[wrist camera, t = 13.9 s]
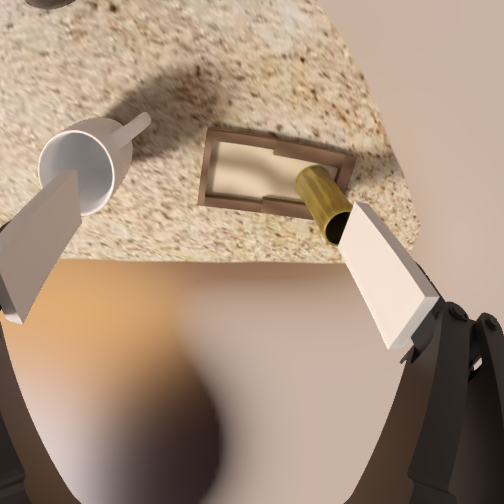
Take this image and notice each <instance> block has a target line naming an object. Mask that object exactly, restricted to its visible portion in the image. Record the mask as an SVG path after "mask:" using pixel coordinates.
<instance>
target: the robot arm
mask: <svg viewBox="0 0 504 504" xmlns="http://www.w3.org/2000/svg"><path fill="white" fill-rule="evenodd" d="M25 1H26V2H27V3H28V4H29V5H31V6H33V7H36V8H41V9H56V8H60V7H63V6H65V5H68V4H70V3H72V2H73V1H75V0H25ZM81 223H82V220H81V212H80V203H79V192H78V180H77V171H74V170H63V171H62V172H61V173H60V174H58V175H57V176H56V177H55V178H54V179H53V180H52V181H51V182H49V183H48V184H47V185H46V186H45V187H44V188H43V189H42V190H41V191H40V192H39V193H38V194H37V195H36V196H35V197H34V198H33V199H32V200H31V201H30V202H29V203H28V204H27V205H26V206H25V207H24V208H23V209H22V210H21V211H20V212H19V213H18V214H17V215H16V216H15V217H14V218H13V219H12V220H10V221H9V222H7V223H6V224H4V225H3V226H2V227H1V228H0V310H1V309H2V311H3V312H4V315H5V317H6V319H7V320H8V321H12V322H15V323H19V324H23V323H24V321H25V319H26V317H27V315H28V313H29V311H30V309H31V307H32V305H33V303H34V301H35V299H36V297H37V295H38V293H39V292H40V290H41V288H42V286H43V284H44V282H45V280H46V279H47V277H48V275H49V274H50V272H51V270H52V268H53V267H54V265H55V264H56V262H57V260H58V259H59V257H60V255H61V254H62V252H63V250H64V249H65V247H66V246H67V244H68V243H69V241H70V240H71V238H72V236H73V235H74V233H75V232H76V230H77V229H78V227H79V226H80V225H81ZM337 248H338V250H339V251H340V253H341V255H342V257H343V259H344V261H345V263H346V265H347V266H348V268H349V270H350V272H351V274H352V276H353V278H354V280H355V282H356V284H357V286H358V288H359V290H360V292H361V294H362V296H363V298H364V300H365V302H366V304H367V306H368V308H369V310H370V312H371V314H372V316H373V318H374V321H375V323H376V325H377V327H378V329H379V331H380V334H381V335H382V338H383V340H384V342H385V344H386V347H387V349H399V348H403V347H404V346H405V344H406V343H407V342H408V340H409V339H410V338H411V339H412V341H413V343H414V345H413V346H412V348H411V349H410V350H409V351H408V352H407V353H406V355H405V356H404V357H403V358H402V360H401V361H400V363H401V364H402V363H403V362H404V361H405V360H407V361H406V364H405V368H404V371H403V374H402V377H401V381H400V384H399V387H398V390H397V393H396V396H395V399H394V401H393V404H392V407H391V410H390V412H389V415H388V418H387V420H386V423H385V426H384V428H383V430H382V433H381V435H380V438H379V440H378V442H377V445H376V447H375V449H374V452H373V454H372V456H371V458H370V460H369V462H368V465H367V467H366V468H365V471H364V473H363V475H362V477H361V479H360V480H359V482H358V484H357V486H356V488H355V490H354V492H353V494H352V495H351V497H350V498H349V499H348V500H347V501H346V502H345V503H344V504H504V334H503V331H502V328H501V326H500V324H499V323H498V321H497V319H496V318H495V317H494V316H492V315H490V314H488V313H482V314H481V315H480V316H479V318H478V319H477V321H474V320H471V319H469V317H468V315H467V314H466V312H465V311H464V310H463V309H462V308H461V307H460V306H459V305H457V304H455V303H453V302H445V300H444V299H443V298H442V296H441V295H440V293H439V292H438V290H437V289H436V288H435V286H434V285H433V283H432V282H430V279H429V278H428V276H427V275H425V272H424V271H423V269H422V268H421V267H420V266H419V265H418V264H417V263H416V262H415V261H414V260H413V259H412V258H411V256H410V255H409V253H408V252H407V251H406V250H405V248H404V247H403V246H402V244H401V243H400V242H399V241H398V239H397V238H396V237H395V236H394V234H393V233H392V232H391V231H390V229H389V228H388V227H387V226H386V225H385V223H384V222H383V221H382V220H381V219H380V217H379V216H378V215H377V214H376V213H375V211H374V210H373V209H372V208H371V207H370V206H369V204H366V203H361V202H356V201H355V203H354V205H353V208H352V211H351V214H350V216H349V219H348V222H347V224H346V227H345V229H344V232H343V235H342V237H341V240H340V242H339V245H338V247H337ZM480 358H482V364H481V365H480V366H479V367H478V368H477V369H476V370H475V371H474V367H473V365H474V364H475V363H476V362H477V361H478V360H479V359H480ZM0 504H81V503H80V502H79V501H78V500H77V499H76V498H75V497H74V496H73V495H72V493H71V492H70V490H69V489H68V487H67V486H66V484H65V482H64V481H63V479H62V477H61V476H60V474H59V472H58V471H57V469H56V467H55V465H54V463H53V462H52V460H51V458H50V456H49V454H48V452H47V450H46V448H45V447H44V445H43V443H42V441H41V438H40V436H39V434H38V432H37V430H36V428H35V426H34V423H33V421H32V419H31V417H30V414H29V412H28V409H27V407H26V404H25V402H24V399H23V397H22V394H21V391H20V388H19V385H18V383H17V380H16V377H15V374H14V371H13V367H12V364H11V361H10V357H9V354H8V350H7V346H6V343H5V339H4V335H3V330H2V326H1V323H0Z"/></svg>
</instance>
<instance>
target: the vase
mask: <svg viewBox="0 0 504 504" xmlns="http://www.w3.org/2000/svg"><path fill="white" fill-rule="evenodd" d="M295 189H296V192H297V194H298V195H299V196H300V197H301V198H302V200H303V201H304V203H305V205H306V207H307V208H308V210H309V211H310V213H311V215H312V216H313V218H314V220H315V221H316V223H317V225H318V227H319V229H320V230H321V232H322V234H323V236H324V238H325V240H326V241H327V242H328V243H329V244H330V245H332V246H338V245H339V242H340V240H341V237H342V235H343V232H344V229H345V227H346V224H347V222H348V219H349V216H350V214H351V211H352V208H353V206H352V204H351V203H350V202H349V201H348V200H347V198H346V197H345V195H344V194H343V193H342V191H341V190H340V189H339V187H338V186H337V184H336V183H335V181H334V180H333V179H332V177H331V176H330V174H329V172H328V171H327V170H326V169H324V168H323V167H320V166H309V167H307V168H305V169H303V170H302V171H301V172H300V173H299V174H298V176H297V178H296V180H295Z"/></svg>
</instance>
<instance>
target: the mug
mask: <svg viewBox="0 0 504 504" xmlns="http://www.w3.org/2000/svg"><path fill="white" fill-rule="evenodd" d="M150 124H151V117H150V115H149V114H148V113H147V112H142V113H141V114H140V115H138V116H137V117H136V118H134V119H133V120H132V121H130V122H129V123H128V124H126V125H125V126H122V124H120V123H119V122H117V121H115V120H112V119H109V118H101V117H99V118H91V119H87V120H83V121H80V122H78V123H75V124H73V125H72V126H69V127H68V128H66V129H64V130H63V131H61V132H59V133H58V134H56V135H55V136H53V137H52V138H51V139H50V140H49V141H48V142H47V144H46V145H45V146H44V148H43V150H42V152H41V155H40V158H39V163H38V176H39V181H40V184H41V187H42V189H43V188H44V187H45V186H46V185H47V184H48V183H49V182H51V181H52V180H53V179H54V178H55V177H56V176H57V175H58V174H60V173H61V172H62V171H63V170H74V171H77V180H78V192H79V203H80V212H81V216H84V215H89V214H92V213H95V212H97V211H99V210H100V209H101V208H103V207H104V206H105V205H106V204H107V202H108V201H109V200H110V198H111V197H112V196H113V194H114V193H115V192H116V190H117V189H118V188H119V186H120V184H121V183H122V181H123V180H124V178H125V176H126V174H127V173H128V170H129V168H130V164H131V160H132V154H133V146H132V139H133V138H134V137H135V136H137V135H138V134H139V133H141V132H142V131H143V130H144V129H146V128H147V127H148V126H149V125H150Z"/></svg>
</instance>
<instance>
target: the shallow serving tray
mask: <svg viewBox="0 0 504 504" xmlns="http://www.w3.org/2000/svg"><path fill="white" fill-rule="evenodd" d="M356 159H357V158H356V157H354V156H353V155H350V154H346V153H342V152H338V151H334V150H330V149H326V148H321V147H317V146H312V145H308V144H303V143H298V142H293V141H288V140H283V139H278V138H273V137H267V136H261V135H255V134H249V133H242V132H236V131H229V130H221V129H213V128H208V129H207V135H206V142H205V149H204V156H203V163H202V171H201V178H200V186H199V195H198V203H197V205H200V206H209V207H218V208H227V209H235V210H243V211H251V212H259V213H267V214H274V215H281V216H289V217H296V218H303V219H310V220H314V218H313V216H312V215H311V213H310V211H309V210H308V208H307V207H306V205H305V203H304V201H303V200H302V198H301V197H300V196H299V195H298V194H297V192H296V189H295V180H296V178H297V176H298V174H299V173H300V172H301V171H302V170H303V169H305V168H307V167H309V166H320V167H323V168H324V169H326V170H327V171H328V172H329V174H330V176H331V177H332V179H333V180H334V181H335V183H336V184H337V186H338V187H339V189H340V190H341V191H342V193H343V194H344V195H345V192H346V189H347V186H348V183H349V180H350V177H351V174H352V171H353V168H354V165H355V162H356Z"/></svg>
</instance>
